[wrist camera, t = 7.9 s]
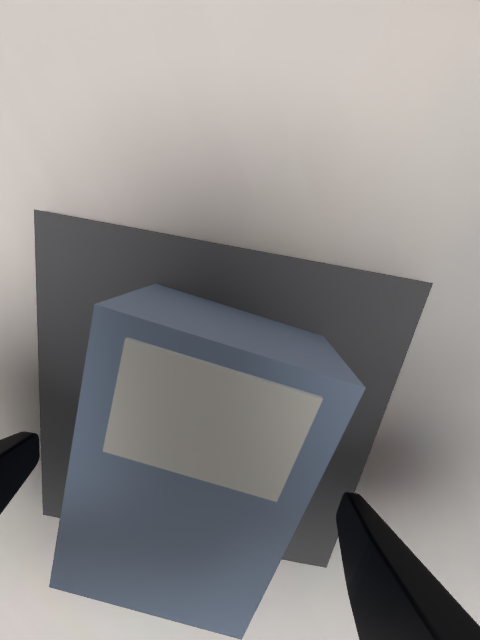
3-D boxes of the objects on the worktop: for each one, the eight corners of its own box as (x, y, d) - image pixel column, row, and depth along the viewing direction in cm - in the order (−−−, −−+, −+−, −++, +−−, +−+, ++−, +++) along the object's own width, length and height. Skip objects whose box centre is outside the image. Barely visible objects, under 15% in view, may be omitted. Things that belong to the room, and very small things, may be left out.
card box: (245, 523, 11) (241, 644, 8) (111, 485, 11) (46, 591, 8) (323, 336, 9) (367, 390, 5) (155, 283, 9) (91, 305, 5)
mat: (424, 281, 9) (432, 283, 8) (323, 557, 12) (326, 567, 12) (43, 211, 9) (33, 209, 8) (49, 506, 12) (42, 514, 12)
